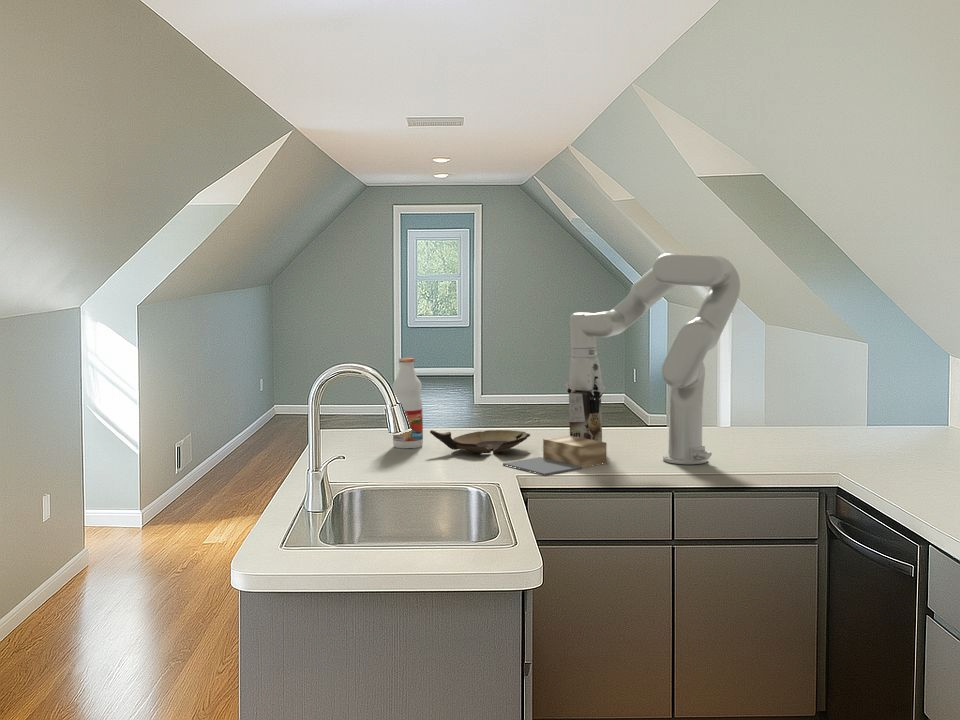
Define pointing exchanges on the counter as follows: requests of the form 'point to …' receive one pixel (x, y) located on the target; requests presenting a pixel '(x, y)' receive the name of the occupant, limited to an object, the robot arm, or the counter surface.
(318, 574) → the counter surface
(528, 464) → the rubber mat
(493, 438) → the brown shallow curved piece
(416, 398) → the fruit juice
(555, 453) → the oak step
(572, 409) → the coffee box
